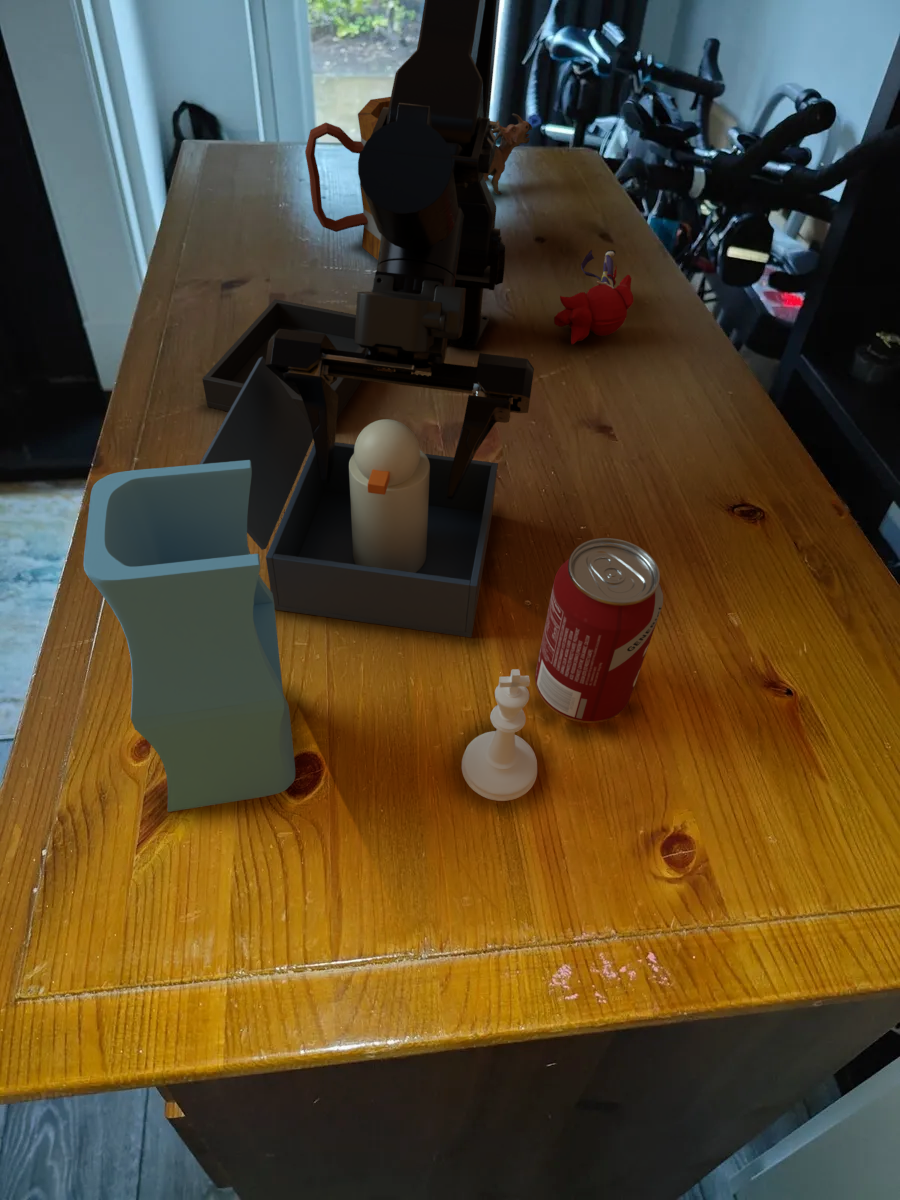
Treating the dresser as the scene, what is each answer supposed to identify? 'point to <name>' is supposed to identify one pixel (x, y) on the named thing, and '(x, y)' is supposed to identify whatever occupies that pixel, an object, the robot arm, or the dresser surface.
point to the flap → (264, 446)
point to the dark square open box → (375, 595)
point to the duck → (389, 497)
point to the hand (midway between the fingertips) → (387, 490)
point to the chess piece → (503, 746)
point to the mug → (370, 231)
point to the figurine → (597, 303)
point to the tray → (253, 345)
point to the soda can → (598, 629)
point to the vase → (194, 628)
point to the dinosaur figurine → (506, 147)
